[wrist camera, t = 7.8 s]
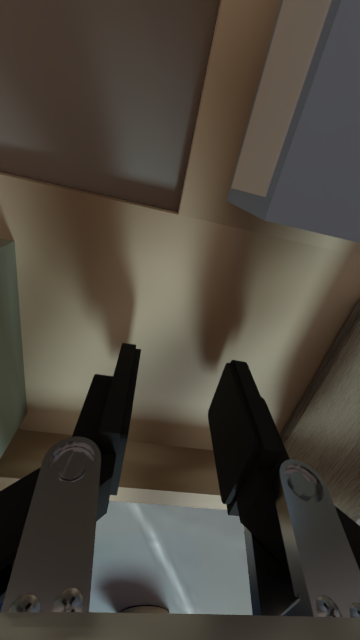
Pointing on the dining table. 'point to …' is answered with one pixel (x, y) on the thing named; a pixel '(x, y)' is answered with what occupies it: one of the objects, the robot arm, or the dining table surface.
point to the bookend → (332, 421)
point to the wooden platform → (164, 296)
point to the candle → (146, 610)
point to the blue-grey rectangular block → (306, 123)
